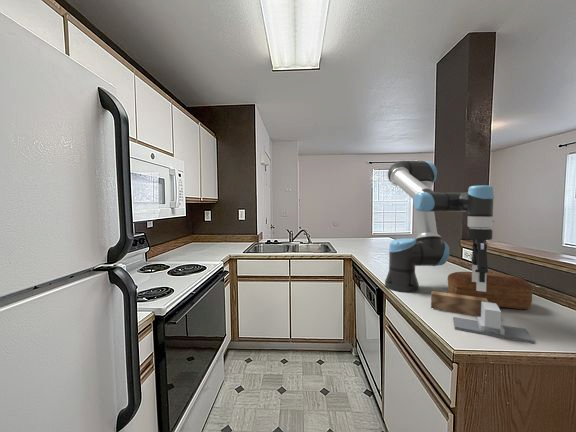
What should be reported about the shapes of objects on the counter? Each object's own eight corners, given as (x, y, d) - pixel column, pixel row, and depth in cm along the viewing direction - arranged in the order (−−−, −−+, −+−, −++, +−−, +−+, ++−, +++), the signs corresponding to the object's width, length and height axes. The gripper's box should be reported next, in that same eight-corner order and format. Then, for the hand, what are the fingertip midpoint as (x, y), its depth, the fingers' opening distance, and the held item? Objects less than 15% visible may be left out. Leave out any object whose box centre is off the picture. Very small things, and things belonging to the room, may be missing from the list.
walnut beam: (430, 309, 109) (431, 293, 109) (431, 305, 113) (431, 290, 112) (487, 318, 101) (488, 301, 100) (485, 314, 104) (486, 298, 104)
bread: (443, 294, 126) (444, 267, 125) (517, 300, 119) (519, 271, 118) (453, 305, 113) (454, 275, 112) (537, 313, 105) (539, 280, 105)
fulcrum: (454, 329, 91) (455, 305, 91) (453, 319, 99) (453, 297, 99) (534, 343, 82) (535, 317, 82) (525, 331, 90) (526, 307, 90)
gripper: (499, 231, 90) (497, 297, 90) (486, 226, 112) (485, 279, 112) (471, 230, 93) (470, 293, 94) (464, 226, 115) (463, 277, 116)
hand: (478, 286), depth 103 cm, fingers open, 13 cm apart
